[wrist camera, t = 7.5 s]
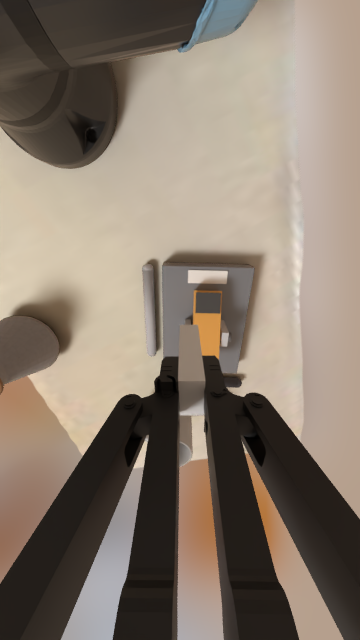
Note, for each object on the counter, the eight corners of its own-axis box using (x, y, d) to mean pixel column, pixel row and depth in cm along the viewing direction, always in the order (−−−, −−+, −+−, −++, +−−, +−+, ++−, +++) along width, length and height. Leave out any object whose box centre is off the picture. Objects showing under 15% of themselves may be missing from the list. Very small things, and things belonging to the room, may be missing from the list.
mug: (196, 399, 47) (200, 446, 37) (182, 423, 50) (182, 472, 41) (146, 383, 45) (135, 428, 35) (135, 409, 49) (122, 457, 39)
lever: (193, 290, 33) (194, 290, 30) (219, 291, 33) (222, 290, 30) (191, 376, 35) (192, 383, 32) (215, 376, 35) (218, 383, 32)
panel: (163, 262, 34) (158, 272, 27) (249, 264, 34) (265, 274, 27) (165, 361, 43) (161, 388, 36) (233, 363, 43) (242, 390, 36)
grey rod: (143, 262, 34) (141, 264, 33) (154, 262, 34) (152, 264, 33) (148, 352, 42) (146, 358, 40) (156, 353, 42) (155, 358, 40)
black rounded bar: (165, 373, 44) (164, 380, 42) (240, 375, 44) (243, 382, 42) (165, 380, 45) (164, 387, 43) (239, 382, 45) (241, 389, 43)
